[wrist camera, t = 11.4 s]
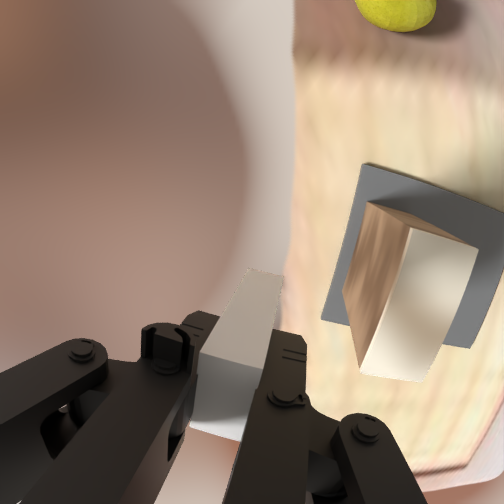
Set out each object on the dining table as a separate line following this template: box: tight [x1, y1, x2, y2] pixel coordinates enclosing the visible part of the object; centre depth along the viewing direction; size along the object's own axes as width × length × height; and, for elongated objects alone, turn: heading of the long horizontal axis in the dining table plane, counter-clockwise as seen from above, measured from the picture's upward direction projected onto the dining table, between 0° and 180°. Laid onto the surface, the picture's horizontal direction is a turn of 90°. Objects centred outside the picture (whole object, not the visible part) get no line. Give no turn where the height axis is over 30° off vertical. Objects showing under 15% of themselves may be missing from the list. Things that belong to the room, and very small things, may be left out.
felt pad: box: [321, 164, 504, 349], centre depth 25 cm, size 14×17×1 cm
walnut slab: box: [342, 201, 479, 382], centre depth 20 cm, size 8×4×12 cm, turn 168°
